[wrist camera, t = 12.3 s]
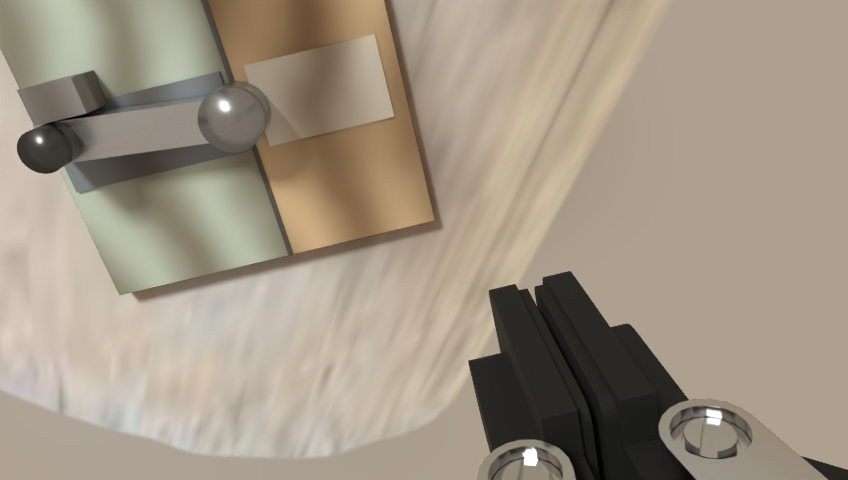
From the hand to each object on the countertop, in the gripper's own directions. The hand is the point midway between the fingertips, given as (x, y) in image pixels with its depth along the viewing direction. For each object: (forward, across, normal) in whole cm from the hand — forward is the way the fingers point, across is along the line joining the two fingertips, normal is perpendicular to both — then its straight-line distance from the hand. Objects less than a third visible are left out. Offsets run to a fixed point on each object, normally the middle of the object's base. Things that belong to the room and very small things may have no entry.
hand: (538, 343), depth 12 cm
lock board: (+29, +12, -2) cm, 32 cm away
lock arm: (+28, +16, -2) cm, 32 cm away
